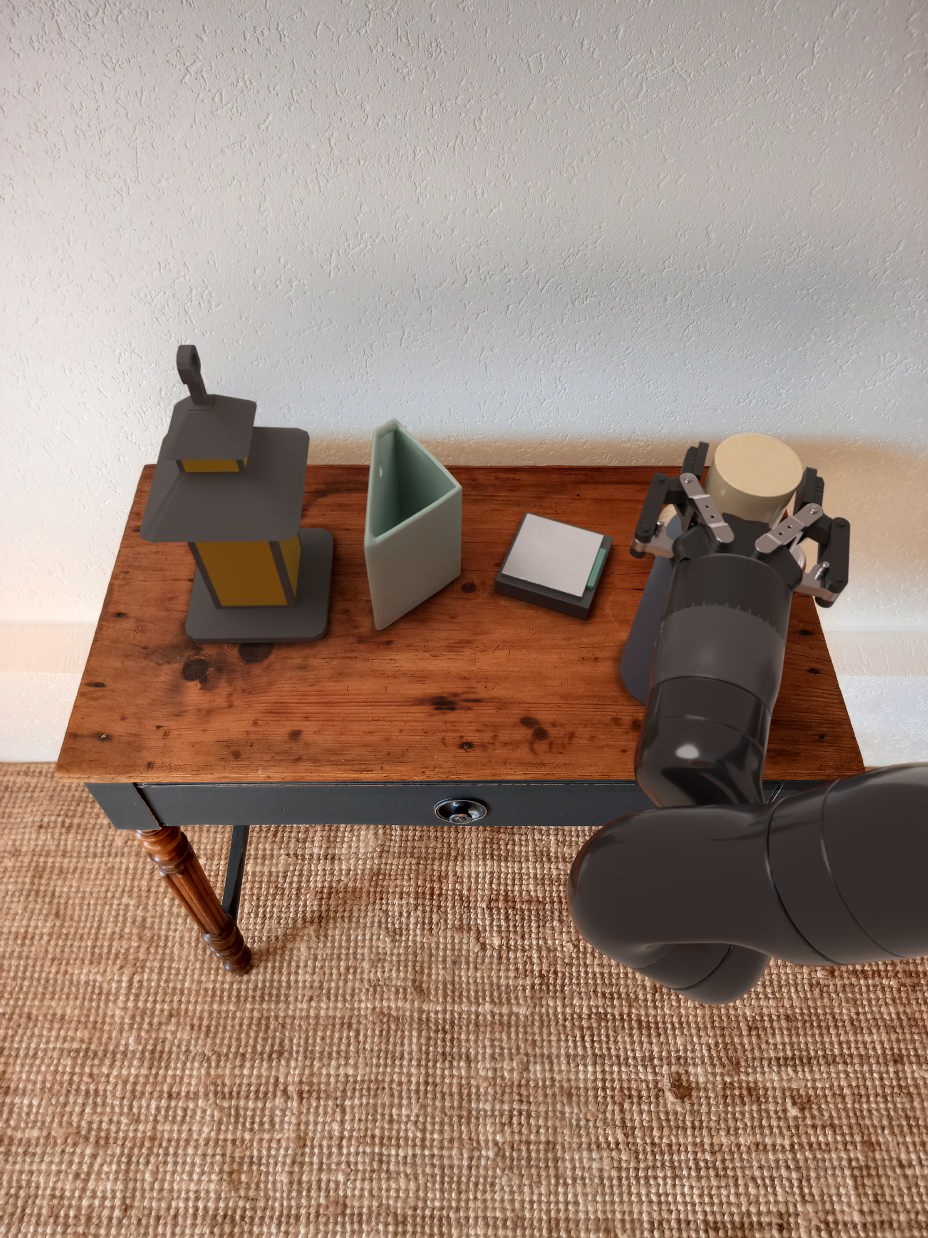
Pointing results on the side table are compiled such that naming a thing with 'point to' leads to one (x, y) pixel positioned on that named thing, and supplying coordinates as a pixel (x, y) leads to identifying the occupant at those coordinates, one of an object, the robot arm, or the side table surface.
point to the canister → (753, 477)
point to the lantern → (239, 519)
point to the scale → (554, 565)
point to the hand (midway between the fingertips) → (753, 462)
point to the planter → (409, 524)
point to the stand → (647, 624)
